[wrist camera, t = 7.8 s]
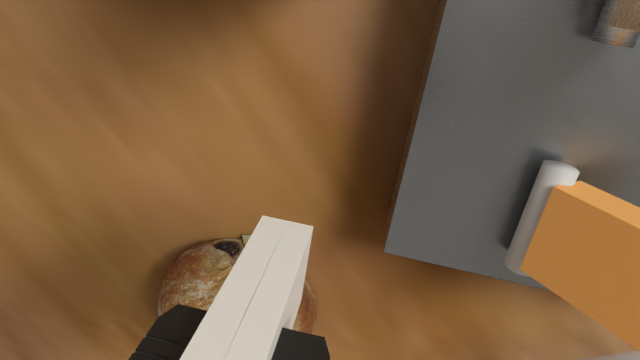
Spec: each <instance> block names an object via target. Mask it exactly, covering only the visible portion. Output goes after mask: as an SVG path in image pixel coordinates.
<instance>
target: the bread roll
mask: <svg viewBox="0 0 640 360" xmlns="http://www.w3.org/2000/svg"><path fill="white" fill-rule="evenodd" d="M250 237H251V235H242V238H240V239H235V238H231V239H219V240H215V241H205V242H203V243H201V244H197V245H195V246H192V247H190V248H188V249H187V250H185V251H184V252H183V253H182V254H181V255H180V256H179V257H178V258H177V259H176V260H175V261H174V262H173V263H172V265H171V266H170V268H169V269H168V271H167V273H166V275H165V277H164V279H163V282H162V286H161V289H160V291H159V299H158V317H159V316H161V315H162V314H164V313H165V312H167V311H168V310H170V309H171V308H173V307H174V306H175V305H177V304H181V305H185V306H189V307H193V308H198V309H202V310H206V311H208V309H209V308H210V306H211V304H212V303H213V301H214V299H215V297H216V296H217V294H218V292H219V290H220V289H221V287H222V285H223V284H224V282H225V280H226V278H227V277H228V275H229V273H230V271H231V270H232V268H233V266H234V264H235V263H236V261H237V259H238V258H239V256H240V254H241V252H242V251H243V249H244V247H245V245H246V244H247V242H248V240H249V238H250ZM316 315H317V312H316V298H315V296H314V295H313V293H312V290H311V289H310V286H309V285H308V281H307V280H306V279H305V281H304V287H303V293H302V299H301V303H300V306H299V309H298V312H297V315H296V319H295V322H294V325H293V328H292V330H296V331H300V332H304V333H308V334H312V329H313V328H314V327H315V325H316Z"/></svg>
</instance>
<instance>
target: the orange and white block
mask: <svg viewBox="0 0 640 360" xmlns="http://www.w3.org/2000/svg"><path fill="white" fill-rule="evenodd" d="M579 173H580V172H579V170H577V169H576V168H574V167H573V166H571V165H568V164H565V163H562V162H559V161H554V160H544V161H543V162H542V165H541V168H540V170H539V173H538V175H537V178H536V180H535V183H534V185H533V188H532V191H531V193H530V196H529V198H528V201H527V203H526V206H525V208H524V211H523V214H522V216H521V219H520V221H519V224H518V226H517V229H516V231H515V234H514V237H513V239H512V242H511V244H510V247H509V249H508V252H507V254H506V257H505V260H504V264H505V266H506V267H507V268H508V269H509V270H511V271H512V272H514V273H516V274H519V275H522V276H527V277H532V278H533V279H535V280H536V281H538V282H539V283H541V284H542V285H544V286H545V287H546V288H548V289H549V290H551V291H552V292H554V293H555V294H557V295H558V296H560V297H561V298H563V299H564V300H565V301H567V302H568V303H570V304H571V305H573V306H574V307H576V308H577V309H579V310H580V311H582V312H583V313H585V314H586V315H587V316H589V317H590V318H592V319H593V320H595V321H596V322H598V323H599V324H601V325H602V326H604V327H605V328H606V329H608V330H609V331H611V332H612V333H614V334H615V335H617V336H618V337H620V338H621V339H623V340H624V341H626V342H627V343H628V344H630V345H631V346H633V347H634V348H636V349H637V350H639V351H640V207H637V206H635V205H633V204H631V203H629V202H626V201H624V200H622V199H620V198H618V197H616V196H613V195H611V194H609V193H607V192H605V191H602V190H600V189H598V188H596V187H594V186H592V185H589V184H587V183H585V182H583V181H576V180H577V177H578V175H579Z"/></svg>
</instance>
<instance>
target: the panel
mask: <svg viewBox="0 0 640 360" xmlns="http://www.w3.org/2000/svg"><path fill="white" fill-rule="evenodd" d="M544 160H554V161H559V162H562V163H565V164H568V165H571V166H573V167H574V168H576V169H577V170H579V172H580V173H579V175H578V177H577V180H576V181H583V182H585V183H587V184H589V185H592V186H594V187H596V188H598V189H600V190H602V191H605V192H607V193H609V194H611V195H613V196H616V197H618V198H620V199H622V200H624V201H626V202H629V203H631V204H633V205H635V206H637V207H640V0H440V3H439V7H438V11H437V16H436V20H435V24H434V28H433V32H432V36H431V40H430V44H429V48H428V52H427V56H426V60H425V64H424V69H423V73H422V77H421V81H420V85H419V89H418V93H417V97H416V101H415V105H414V109H413V113H412V117H411V122H410V126H409V130H408V134H407V138H406V142H405V146H404V150H403V154H402V158H401V162H400V166H399V170H398V174H397V179H396V183H395V187H394V191H393V195H392V199H391V203H390V207H389V211H388V215H387V225H386V235H385V244H384V252H385V253H389V254H393V255H398V256H402V257H406V258H411V259H415V260H419V261H424V262H428V263H432V264H437V265H441V266H445V267H450V268H454V269H458V270H463V271H467V272H472V273H476V274H480V275H485V276H489V277H493V278H498V279H502V280H506V281H511V282H515V283H519V284H524V285H528V286H532V287H537V288H541V289H545V290H549V289H548V288H546V287H545V286H544V285H542V284H541V283H539V282H538V281H536V280H535V279H533V278H532V277H527V276H522V275H519V274H516V273H514V272H512V271H511V270H509V269H508V268H507V267H506V266H505V264H504V260H505V257H506V254H507V252H508V249H509V247H510V244H511V242H512V239H513V237H514V234H515V231H516V229H517V226H518V224H519V221H520V219H521V216H522V214H523V211H524V208H525V206H526V203H527V201H528V198H529V196H530V193H531V191H532V188H533V185H534V183H535V180H536V178H537V175H538V173H539V170H540V168H541V165H542V162H543V161H544ZM550 291H551V290H550Z"/></svg>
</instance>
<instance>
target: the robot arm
mask: <svg viewBox="0 0 640 360" xmlns="http://www.w3.org/2000/svg"><path fill="white" fill-rule="evenodd" d="M312 232H313V226H309V225H305V224H300V223H295V222H291V221H286V220H281V219H277V218H272V217H268V216H262V218H261V219H260V221H259V223H258V225H257V226H256V228H255V230H254V232H253V233H252V235H251V237H250V238H249V240H248V242H247V244H246V245H245V247H244V249H243V251H242V252H241V254H240V256H239V258H238V259H237V261H236V263H235V264H234V266H233V268H232V270H231V271H230V273H229V275H228V277H227V278H226V280H225V282H224V284H223V285H222V287H221V289H220V290H219V292H218V294H217V296H216V297H215V299H214V301H213V303H212V304H211V306H210V308H209V309H208V311H206V310H202V309H198V308H193V307H189V306H185V305H181V304H177V305H175V306H174V307H173V308H171V309H170V310H168V311H167V312H165V313H164V314H162V315H161V316H159V317H158V319H157V320H156V322H155V323H154V324H153V326H152V327H151V329H150V330H149V332H148V333H147V334H146V337H145V338H144V339H143V340H142V341H141V343H140V344H139V346H138V347H137V348H136V351H135V353H133V354H132V356H131V357H130V358H129V360H329V359H330V355H329V352H328V348H327V345H326V341H325V338H324V337H321V336H317V335H312V334H308V333H304V332H300V331H296V330H292V328H293V325H294V322H295V319H296V315H297V312H298V309H299V306H300V303H301V299H302V293H303V287H304V281H305V274H306V268H307V262H308V256H309V250H310V244H311V238H312Z"/></svg>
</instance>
